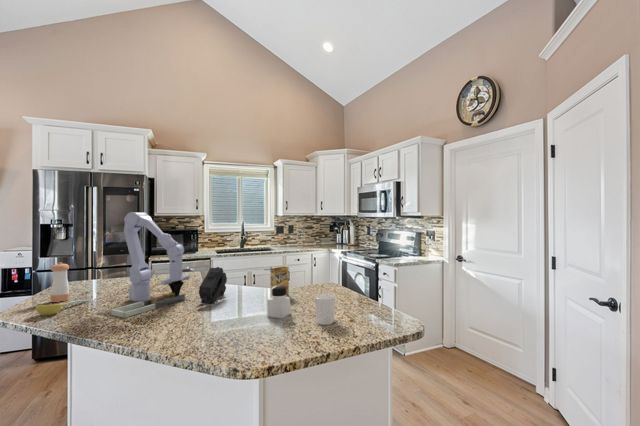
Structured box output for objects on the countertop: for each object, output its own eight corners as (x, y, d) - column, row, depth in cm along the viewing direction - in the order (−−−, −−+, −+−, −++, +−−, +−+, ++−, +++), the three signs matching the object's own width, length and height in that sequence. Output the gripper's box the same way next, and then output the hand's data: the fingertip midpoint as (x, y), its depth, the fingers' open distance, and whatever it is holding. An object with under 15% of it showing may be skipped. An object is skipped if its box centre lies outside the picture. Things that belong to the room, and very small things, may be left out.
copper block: (150, 305, 140) (150, 296, 140) (158, 302, 143) (158, 294, 143) (156, 306, 138) (156, 297, 138) (163, 304, 142) (163, 295, 142)
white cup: (320, 327, 114) (320, 300, 114) (311, 320, 121) (311, 295, 121) (338, 323, 118) (338, 297, 118) (328, 317, 125) (328, 293, 125)
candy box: (273, 298, 154) (273, 268, 154) (270, 296, 158) (270, 266, 158) (289, 295, 159) (288, 266, 159) (285, 293, 163) (285, 265, 163)
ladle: (27, 317, 125) (29, 302, 127) (79, 312, 151) (80, 300, 152) (48, 316, 125) (50, 301, 126) (96, 311, 151) (97, 299, 152)
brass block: (162, 301, 145) (162, 293, 145) (169, 299, 149) (169, 291, 149) (167, 302, 143) (167, 294, 143) (175, 300, 147) (175, 292, 147)
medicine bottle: (290, 313, 129) (290, 285, 129) (281, 319, 123) (281, 289, 123) (276, 311, 132) (276, 284, 132) (266, 316, 126) (266, 287, 126)
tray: (110, 316, 127) (110, 309, 127) (141, 308, 139) (141, 301, 139) (124, 320, 123) (124, 312, 123) (155, 310, 135) (155, 303, 135)
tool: (230, 288, 163) (224, 264, 155) (215, 318, 145) (207, 293, 137) (218, 287, 164) (211, 263, 156) (202, 318, 146) (193, 293, 138)
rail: (141, 307, 139) (141, 300, 139) (172, 299, 154) (172, 292, 154) (156, 310, 135) (156, 302, 135) (186, 301, 149) (186, 294, 149)
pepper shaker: (61, 302, 148) (61, 263, 148) (46, 302, 148) (46, 263, 149) (73, 298, 156) (73, 261, 156) (59, 298, 156) (59, 261, 156)
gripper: (168, 272, 142) (168, 301, 141) (193, 267, 155) (193, 294, 155) (158, 271, 145) (158, 299, 145) (183, 266, 158) (184, 292, 158)
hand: (175, 296), depth 150 cm, fingers closed
